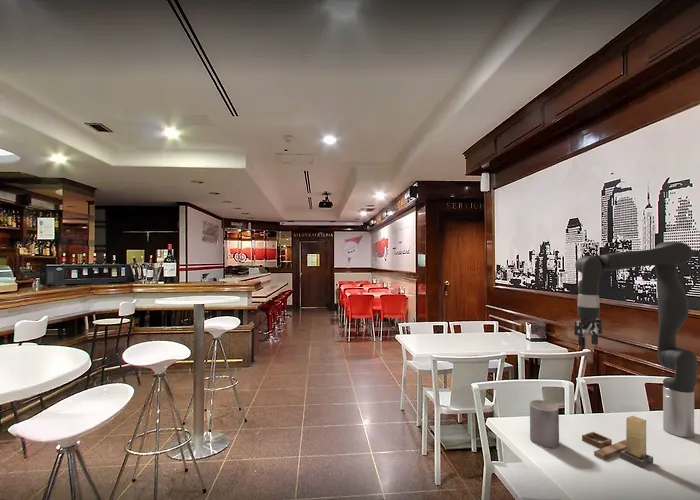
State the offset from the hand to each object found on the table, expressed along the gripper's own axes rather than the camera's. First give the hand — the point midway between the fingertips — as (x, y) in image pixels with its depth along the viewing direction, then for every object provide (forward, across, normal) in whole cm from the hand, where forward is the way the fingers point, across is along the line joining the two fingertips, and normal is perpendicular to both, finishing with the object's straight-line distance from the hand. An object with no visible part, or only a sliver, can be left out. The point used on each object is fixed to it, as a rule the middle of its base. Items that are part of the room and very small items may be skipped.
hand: (588, 345), depth 150 cm
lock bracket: (+33, -10, -16) cm, 38 cm away
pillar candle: (+33, -27, 0) cm, 43 cm away
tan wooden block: (+33, -10, -22) cm, 41 cm away
